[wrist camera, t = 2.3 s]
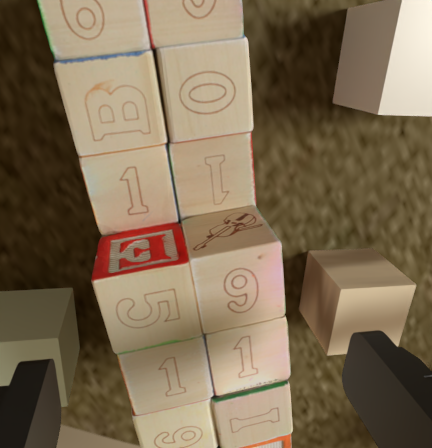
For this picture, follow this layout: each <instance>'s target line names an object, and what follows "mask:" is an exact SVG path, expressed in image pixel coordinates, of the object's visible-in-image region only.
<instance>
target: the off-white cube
mask: <svg viewBox="0 0 432 448" xmlns="http://www.w3.org/2000/svg"><path fill="white" fill-rule="evenodd" d="M332 103H334V104H338V105H342V106H346V107H349V108H353V109H357V110H361V111H365V112H369V113H373V114H377V115H405V116H432V0H384V1H379V2H375V3H370V4H366V5H361V6H357V7H352V8H348V10H347V16H346V22H345V29H344V35H343V41H342V47H341V53H340V59H339V65H338V72H337V78H336V84H335V90H334V96H333V102H332Z"/></svg>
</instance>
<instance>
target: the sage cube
mask: <svg viewBox="0 0 432 448" xmlns="http://www.w3.org/2000/svg"><path fill="white" fill-rule="evenodd" d="M79 350H80V345H79V336H78V328H77V319H76V310H75V302H74V293H73V288H56V289H37V290H18V291H0V386H8V385H9V384H10V382H11V379H12V377H13V374H14V372H15V369H16V367H17V365H18V363H19V362H21V361H31V360H42V359H53V360H54V362H55V368H56V374H57V381H58V388H59V395H60V401H61V407H64V406H68V403H69V398H70V393H71V388H72V383H73V379H74V374H75V369H76V364H77V360H78V355H79Z"/></svg>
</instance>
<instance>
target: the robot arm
mask: <svg viewBox="0 0 432 448" xmlns="http://www.w3.org/2000/svg"><path fill="white" fill-rule="evenodd" d="M342 382H343V387H344V391H345V393H346V395H347V397H348V399H349V401H350V402H351V404H352V405H353V407H354V409H355V410H356V412H357V414H358V415H359V417H360V418H361V420H362V422H363V423H364V425H365V426H366V428H367V430H368V431H369V433H370V434H371V436H372V438H373V439H374V441H375V443H376V444H377V446H378V447H379V448H432V371H431V370H430V369H429V368H428V367H427V366H426V365H425V364H424V363H423V362H422V361H421V360H420V359H419V358H417V357H416V356H414V355H413V354H411V353H410V352H408V351H407V350H405V349H404V348H402V347H397V346H396V345H395V344H394V343H393V341H392V340H391V339H390V338H389V337H388V336H387V335H386V334H385V333H384V332H383V331H380V330H375V331H364V332H355V333H353V334H352V336H351V338H350V342H349V346H348V351H347V355H346V359H345V364H344V368H343V373H342ZM60 424H61V401H60V395H59V388H58V381H57V374H56V368H55V362H54V360H53V359H42V360H31V361H21V362H19V363H18V365H17V367H16V369H15V372H14V374H13V377H12V379H11V382H10V384H9V385H8V386H0V448H56V445H57V440H58V436H59V431H60Z"/></svg>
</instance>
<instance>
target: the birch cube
mask: <svg viewBox="0 0 432 448" xmlns="http://www.w3.org/2000/svg"><path fill="white" fill-rule="evenodd" d="M415 288H416V284H415V283H414V282H413V281H411V280H410V279H409V278H408V277H407V276H405V275H404V274H403V273H402V272H401V271H399V270H398V269H397V268H396V267H395V266H393V265H392V264H391V263H390V262H389V261H387V260H386V259H385V258H384V257H383V256H381V255H380V254H379V253H378V252H377V251H375V250H374V249H373V248H366V249H341V250H317V251H308V256H307V262H306V268H305V274H304V281H303V287H302V293H301V299H300V305H299V311H300V312H301V314H302V316H303V317H304V319H305V320H306V322H307V324H308V325H309V327H310V329H311V330H312V332H313V333H314V335H315V337H316V338H317V340H318V341H319V343H320V345H321V346H322V348H323V350H324V351H325V353H326V354H327V356H328V355H338V354H347V351H348V346H349V342H350V338H351V336H352V334H353V333H355V332H364V331H375V330H380V331H383V332H384V333H385V334H386V335H387V336H388V337H389V338H390V339H391V340H392V341H393V343H394V344H395V345H396V346H397V347H398V344H399V341H400V338H401V334H402V331H403V328H404V324H405V321H406V318H407V314H408V311H409V308H410V304H411V301H412V298H413V295H414V291H415Z"/></svg>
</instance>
